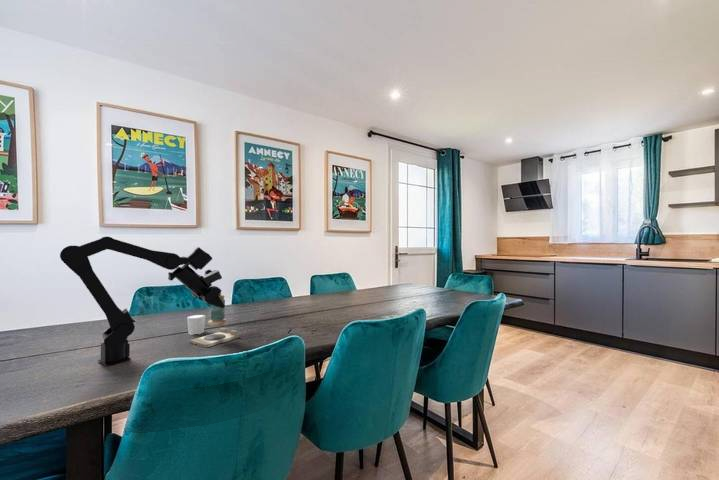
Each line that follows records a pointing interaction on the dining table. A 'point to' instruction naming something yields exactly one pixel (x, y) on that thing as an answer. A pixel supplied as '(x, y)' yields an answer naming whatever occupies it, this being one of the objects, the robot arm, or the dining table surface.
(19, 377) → the dining table surface
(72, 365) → the dining table surface
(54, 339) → the dining table surface
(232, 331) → the notched board
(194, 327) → the white rounded piece
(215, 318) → the bobbin
